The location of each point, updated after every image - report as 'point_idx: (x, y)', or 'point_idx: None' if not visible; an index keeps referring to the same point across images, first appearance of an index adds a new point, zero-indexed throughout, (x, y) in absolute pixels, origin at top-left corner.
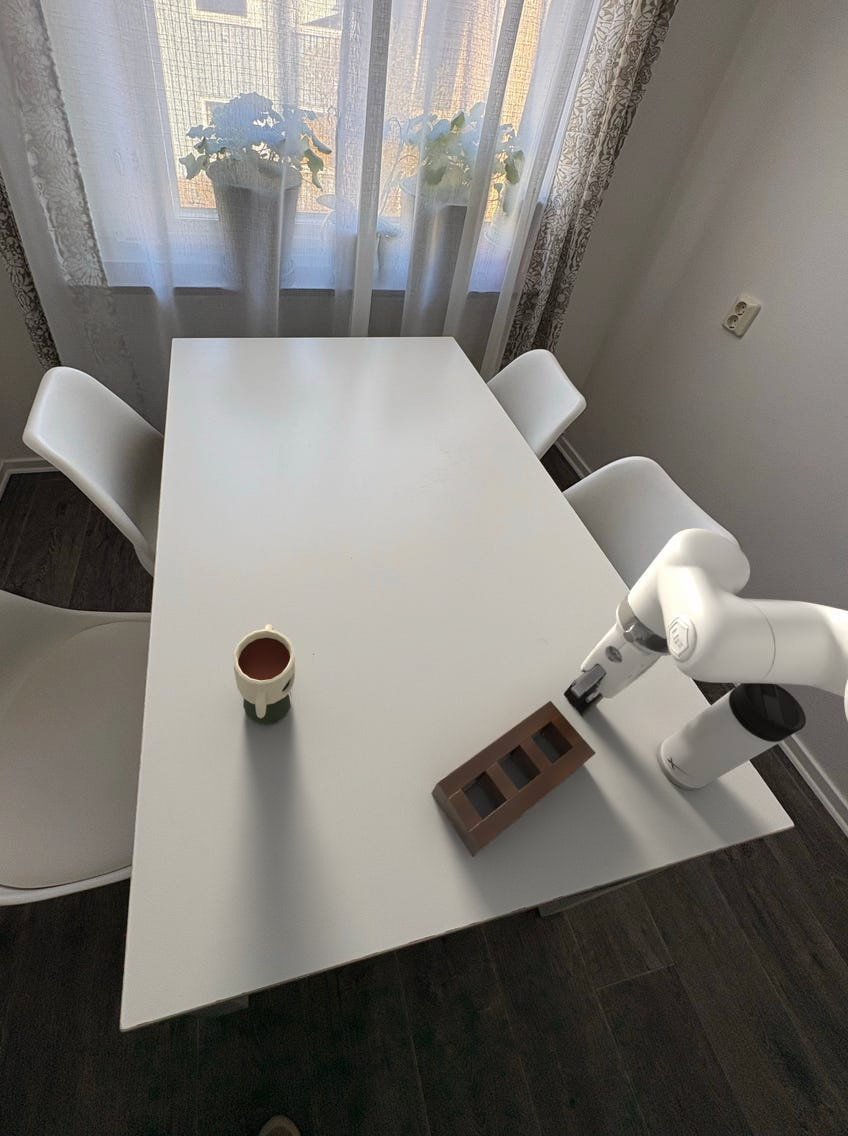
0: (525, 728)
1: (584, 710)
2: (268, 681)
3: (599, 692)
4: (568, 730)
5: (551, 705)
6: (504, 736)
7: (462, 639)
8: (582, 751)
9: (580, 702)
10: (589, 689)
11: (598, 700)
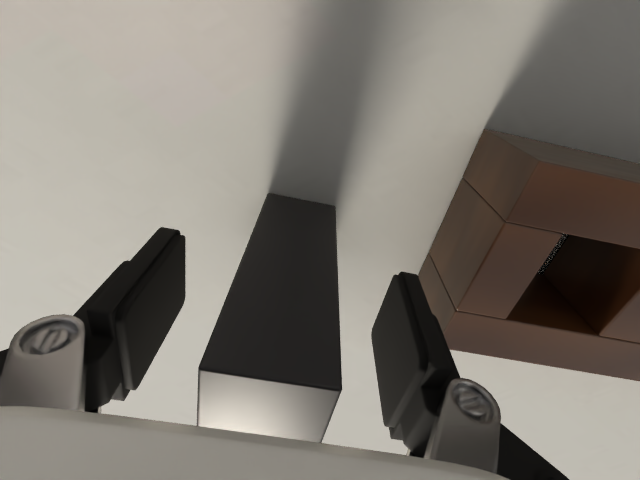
0: (577, 353)
1: (423, 294)
2: None
3: (447, 439)
4: (507, 273)
5: (450, 339)
6: (635, 376)
7: (375, 441)
8: (564, 203)
9: (448, 356)
10: (426, 425)
11: (303, 246)
